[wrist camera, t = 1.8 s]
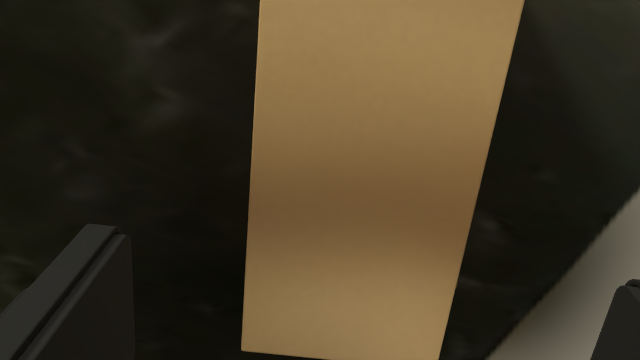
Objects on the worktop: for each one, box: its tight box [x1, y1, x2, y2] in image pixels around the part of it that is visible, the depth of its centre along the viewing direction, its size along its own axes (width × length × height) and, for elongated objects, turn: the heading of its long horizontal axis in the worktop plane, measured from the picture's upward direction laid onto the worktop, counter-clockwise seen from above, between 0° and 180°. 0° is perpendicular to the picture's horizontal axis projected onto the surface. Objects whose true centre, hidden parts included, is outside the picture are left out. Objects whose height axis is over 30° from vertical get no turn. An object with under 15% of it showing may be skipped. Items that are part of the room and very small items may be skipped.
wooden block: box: [241, 0, 525, 360], centre depth 17 cm, size 13×6×4 cm, turn 174°
